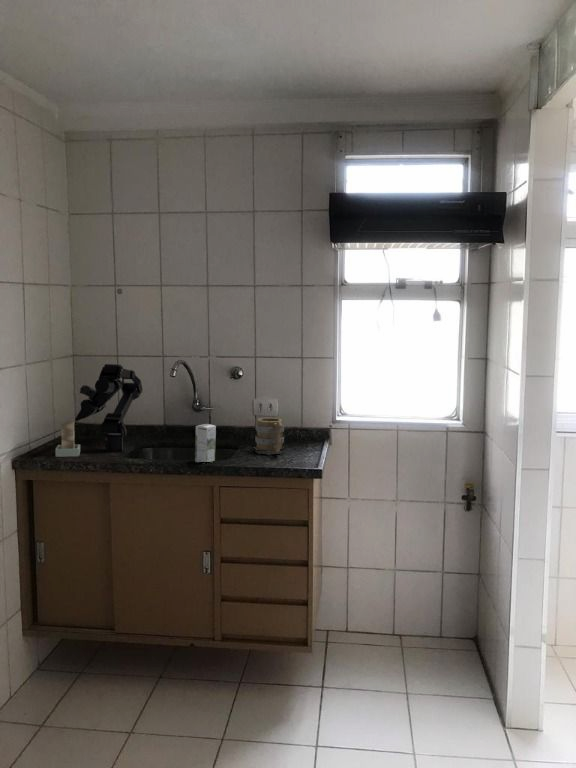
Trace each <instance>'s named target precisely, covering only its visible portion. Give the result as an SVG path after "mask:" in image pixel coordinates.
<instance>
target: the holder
mask: <svg viewBox="0 0 576 768" xmlns="http://www.w3.org/2000/svg"><path fill="white" fill-rule="evenodd" d="M80 453H81V444H79V443H78V444H75V449H62V444H58V445H57V446H56V447H55V457H57V458H59V457H61V458H62V457H80Z"/></svg>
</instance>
